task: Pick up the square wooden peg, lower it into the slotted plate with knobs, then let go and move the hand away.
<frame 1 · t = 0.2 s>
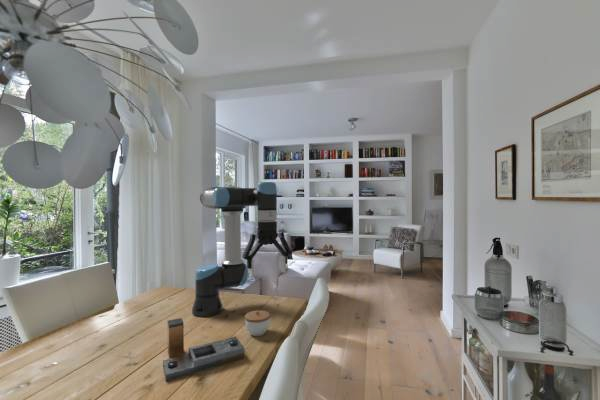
hand: (267, 274, 117), 28 cm above the table, fingers open, 13 cm apart
slotted plate with knobs: (204, 362, 105), on the table
lidded jar: (257, 333, 127), on the table
square wooden peg: (175, 353, 111), on the table
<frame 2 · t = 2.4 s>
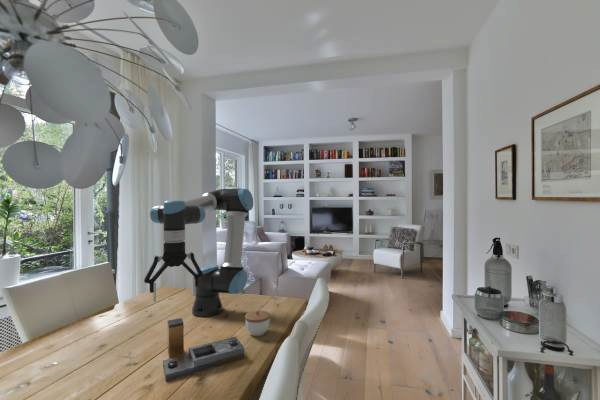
hand: (174, 298, 111), 21 cm above the table, fingers open, 13 cm apart
nothing on the table moved.
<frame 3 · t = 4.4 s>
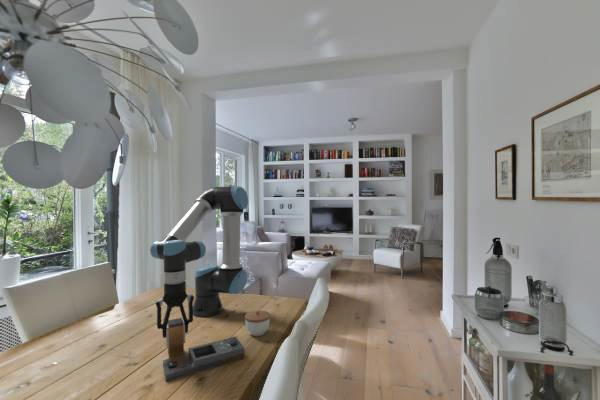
hand: (175, 343, 111), 4 cm above the table, fingers closed on square wooden peg, 5 cm apart
square wooden peg: (175, 353, 111), on the table, touching gripper
everything else where it was.
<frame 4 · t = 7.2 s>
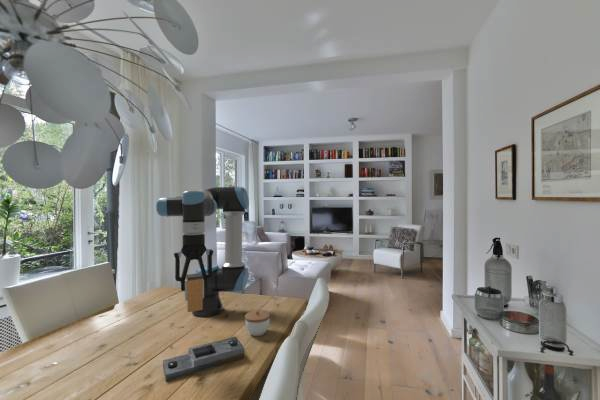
hand: (194, 298, 106), 22 cm above the table, fingers closed on square wooden peg, 5 cm apart
square wooden peg: (194, 308, 106), point 19 cm above the table, touching gripper
everything else where it was.
when the fingers open (6 cm above the table, at t = 10.3 s): square wooden peg drops 2 cm, resting in slotted plate with knobs.
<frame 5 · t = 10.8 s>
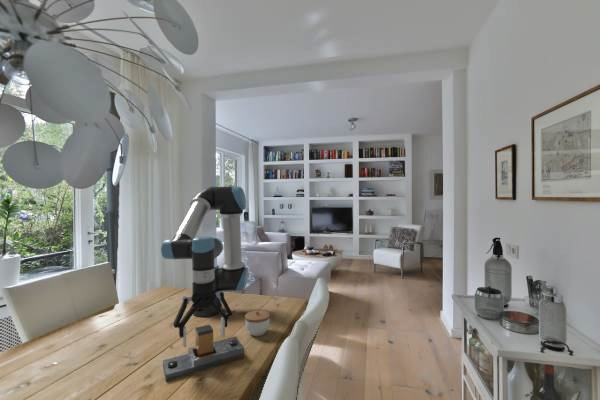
hand: (204, 340, 105), 8 cm above the table, fingers open, 13 cm apart
square wooden peg: (204, 362, 105), resting in slotted plate with knobs
everything else where it was.
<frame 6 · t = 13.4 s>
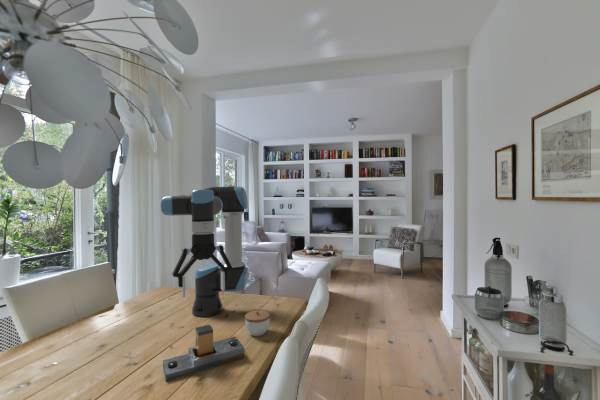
hand: (203, 292, 105), 25 cm above the table, fingers open, 13 cm apart
nothing on the table moved.
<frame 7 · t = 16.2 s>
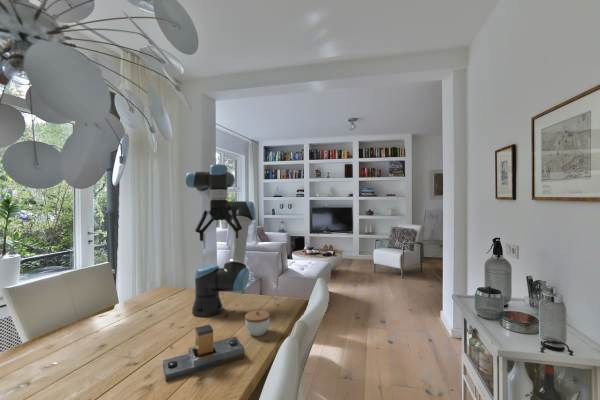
hand: (219, 247, 131), 37 cm above the table, fingers open, 13 cm apart
nothing on the table moved.
at the end: square wooden peg 0.0 cm off-centre on the slotted plate with knobs, point 0.0 cm above the slotted plate with knobs's base; square wooden peg tilted 0°; the gripper is holding nothing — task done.
